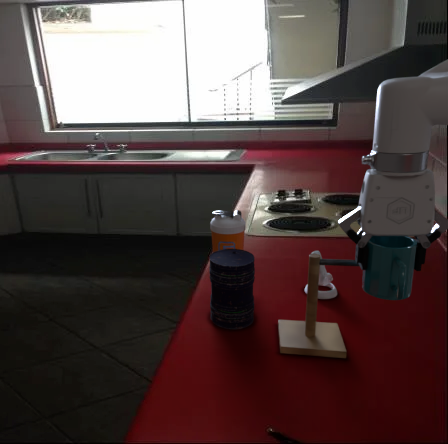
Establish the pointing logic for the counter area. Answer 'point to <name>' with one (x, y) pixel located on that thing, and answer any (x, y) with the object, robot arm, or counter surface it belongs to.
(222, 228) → the shaker bottle
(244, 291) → the storage jar
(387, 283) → the mug
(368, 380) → the counter surface
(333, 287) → the vr controller
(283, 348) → the mug stand
